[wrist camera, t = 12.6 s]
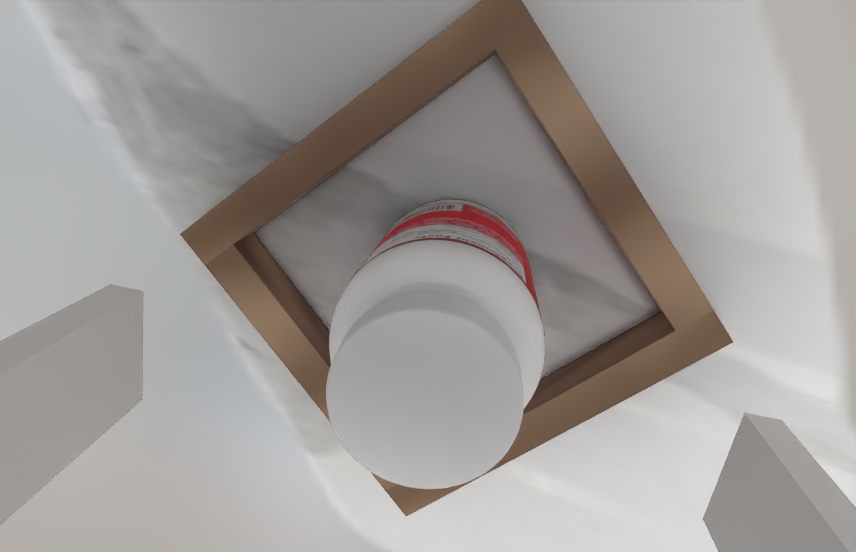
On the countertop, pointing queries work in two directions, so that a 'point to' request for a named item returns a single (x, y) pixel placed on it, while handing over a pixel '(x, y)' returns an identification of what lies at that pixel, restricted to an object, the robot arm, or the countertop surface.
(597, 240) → the countertop surface
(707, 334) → the brown wooden square frame
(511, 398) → the pill bottle
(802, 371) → the countertop surface
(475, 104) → the countertop surface
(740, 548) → the robot arm
